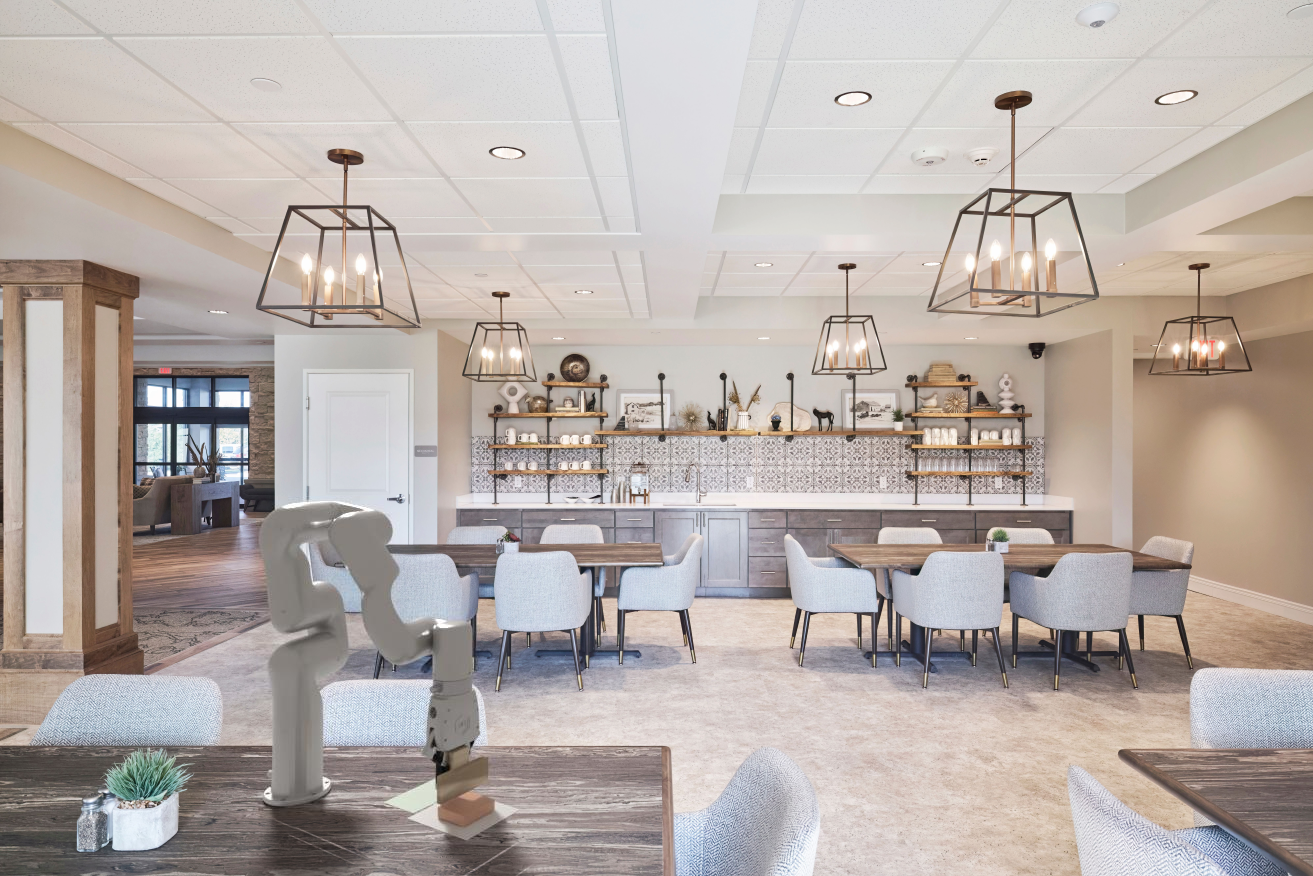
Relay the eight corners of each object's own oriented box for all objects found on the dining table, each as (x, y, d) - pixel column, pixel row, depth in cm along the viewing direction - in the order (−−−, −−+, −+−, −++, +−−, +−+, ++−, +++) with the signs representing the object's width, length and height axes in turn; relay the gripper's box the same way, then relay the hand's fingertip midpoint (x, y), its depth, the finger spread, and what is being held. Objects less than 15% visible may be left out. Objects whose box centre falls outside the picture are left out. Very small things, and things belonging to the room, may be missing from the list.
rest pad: (383, 803, 150) (383, 802, 150) (445, 775, 163) (445, 773, 163) (413, 814, 145) (413, 813, 145) (474, 784, 159) (474, 783, 159)
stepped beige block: (418, 797, 143) (419, 754, 143) (466, 774, 153) (466, 735, 153) (441, 804, 140) (441, 761, 140) (488, 781, 150) (488, 741, 150)
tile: (437, 806, 143) (463, 815, 139) (468, 791, 150) (494, 799, 146) (437, 818, 143) (463, 827, 139) (469, 802, 150) (494, 810, 146)
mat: (406, 819, 143) (406, 818, 143) (462, 792, 155) (462, 790, 155) (466, 841, 135) (466, 840, 135) (520, 811, 146) (520, 809, 146)
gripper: (431, 700, 138) (431, 801, 138) (497, 678, 152) (496, 769, 152) (404, 693, 142) (404, 791, 142) (470, 672, 156) (470, 761, 156)
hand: (452, 779), depth 147 cm, fingers closed on stepped beige block, 4 cm apart
